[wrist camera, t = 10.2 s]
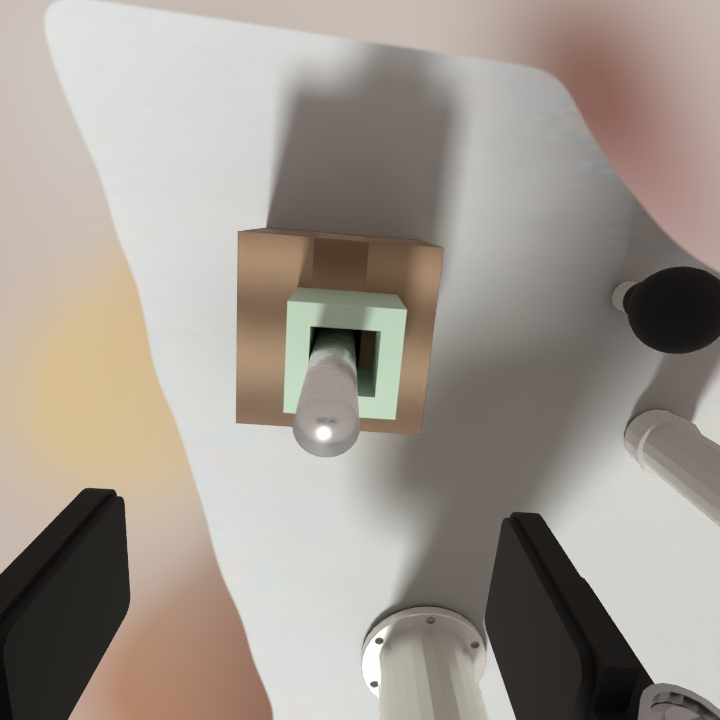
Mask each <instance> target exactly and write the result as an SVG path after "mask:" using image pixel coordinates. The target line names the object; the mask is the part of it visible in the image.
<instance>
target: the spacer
mask: <svg viewBox="0 0 720 720" xmlns="http://www.w3.org/2000/svg"><path fill="white" fill-rule="evenodd" d="M406 314H407V309H406V307H405V306H404V304H403V303H402V301H401V300H400V298H399V297H398V295H396V294H383V293H369V292H356V291H342V290H329V289H316V288H302V287H297V288H296V290H295V291H294V292H293V294H292V295H291V297H290V298H289V299H288V301H287V326H286V353H285V380H284V408H283V413H295V412H296V409H297V405H298V401H299V397H300V394H301V390H302V386H303V382H304V379H305V375H306V371H307V367H308V364H309V360H310V356H311V352H312V349H313V345H314V341H315V327H328V328H342V329H356V330H371V331H374V337H373V349H372V360H371V369H361V368H356V372H357V389H358V406H359V417H360V418H376V419H392V420H395V418H396V408H397V399H398V390H399V380H400V371H401V361H402V352H403V343H404V333H405V324H406Z"/></svg>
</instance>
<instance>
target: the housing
mask: <svg viewBox="0 0 720 720" xmlns="http://www.w3.org/2000/svg"><path fill="white" fill-rule="evenodd" d="M443 250H444V248H442V247H439V246H436V245H433V244H430V243H426V242H423V241H420V240H410V239H397V238H385V237H373V236H361V235H348V234H336V233H324V232H312V231H299V230H287V229H275V228H260V229H252V230H244V231H238V271H237V378H236V423H243V424H258V425H274V426H290V427H293V420H294V416H295V413H283V408H284V380H285V353H286V326H287V301H288V299H289V298H290V297H291V295H292V294H293V292H294V291H295V290H296V288H297V287H302V288H316V289H329V290H342V291H356V292H369V293H383V294H396V295H398V297H399V298H400V300H401V301H402V303H403V304H404V306H405V307H406V309H407V314H406V324H405V333H404V343H403V352H402V361H401V371H400V380H399V390H398V399H397V408H396V418H395V420H392V419H376V418H360V417H359V423H360V430H359V431H370V432H385V433H401V434H417V435H420V434H421V426H422V418H423V410H424V402H425V394H426V386H427V378H428V370H429V362H430V354H431V346H432V338H433V330H434V322H435V314H436V306H437V298H438V290H439V282H440V274H441V266H442V258H443ZM317 330H318V328H317V327H315V337H316V333H317ZM373 337H374V331H371V330H356V331H355V330H354V338H355V355H356V368H361V369H371V360H372V349H373Z"/></svg>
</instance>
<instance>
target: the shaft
mask: <svg viewBox="0 0 720 720" xmlns="http://www.w3.org/2000/svg"><path fill="white" fill-rule="evenodd" d="M359 430H360V423H359V406H358V389H357V372H356V355H355V338H354V329H342V328H328V327H318V330H317V333H316V337H315V341H314V345H313V349H312V352H311V356H310V360H309V364H308V367H307V371H306V375H305V379H304V382H303V386H302V390H301V394H300V397H299V401H298V405H297V409H296V412H295V416H294V420H293V433H294V436H295V438H296V441H297V442H298V444H299V445H300V446H301V447H302V448H303V449H304V450H305V451H307V452H308V453H310V454H313V455H315V456H319V457H334V456H338V455H340V454H342V453H344V452H346V451H347V450H349V449H350V448H351V447H352V446H353V445H354V443H355V442H356V440H357V438H358V435H359Z"/></svg>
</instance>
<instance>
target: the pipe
mask: <svg viewBox="0 0 720 720" xmlns="http://www.w3.org/2000/svg"><path fill="white" fill-rule="evenodd" d="M624 441H625V448H626V450H627V452H628V453H629V455H630V456H631V457H632V458H633V459H634V460H635V461H636V462H637V463H638V464H639V465H640V467H641V468H642V469H643V470H644V471H646V472H648V473H650V474H652V475H653V476H659V477H661V478H662V479H663V480H664V481H665V482H667V483H668V484H669V485H670V486H671V487H673V488H674V489H675V490H676V491H677V492H679V493H680V494H681V495H682V496H683V497H685V498H686V499H687V500H688V501H689V502H691V503H692V504H693V505H694V506H695V507H697V508H698V509H699V510H700V511H701V512H703V513H704V514H705V515H706V516H707V517H709V518H710V519H711V520H712V521H714V522H715V523H716V524H717V525H718V526H720V446H719V445H718V444H716V443H715V442H713V441H711V440H710V439H708V438H706V437H705V436H703V435H702V434H701V433H700V431H699V430H698V428H697V426H696V425H695V424H693V423H691V422H690V421H688V420H686V419H685V418H683V417H680V416H677V415H675V414H673V413H671V412H670V411H667V410H658V409H655V410H651V411H647V412H644V413H642V414H640V415H639V416H637V417H636V418H634V419H633V421H632V422H631V423H630V425H629V426H628V427H627V430H626V433H625V437H624Z"/></svg>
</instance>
